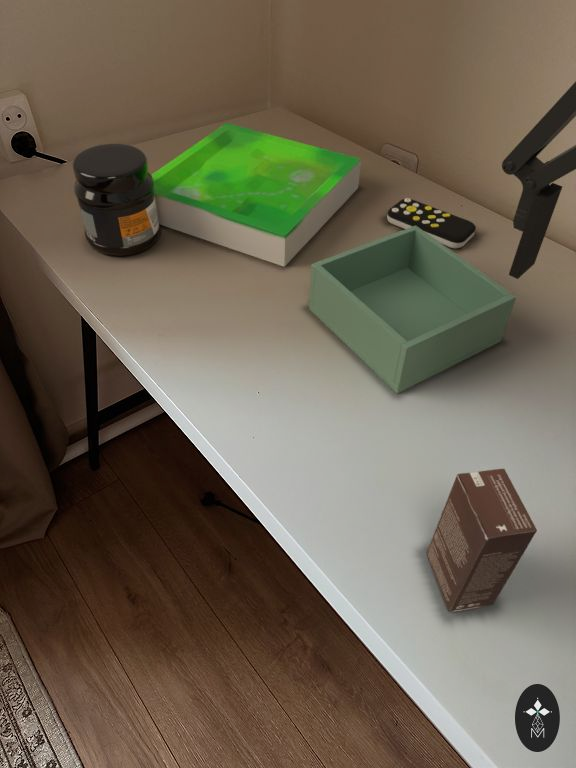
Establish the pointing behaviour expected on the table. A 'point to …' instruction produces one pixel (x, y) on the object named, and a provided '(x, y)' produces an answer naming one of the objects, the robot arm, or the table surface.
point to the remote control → (432, 222)
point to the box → (479, 539)
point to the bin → (408, 306)
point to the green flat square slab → (254, 191)
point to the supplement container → (116, 199)
